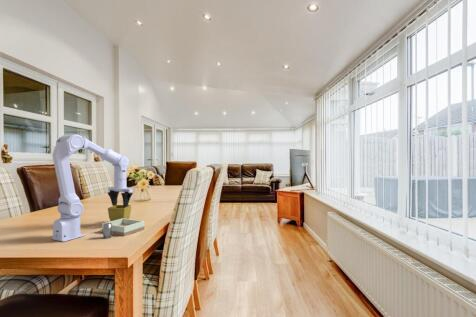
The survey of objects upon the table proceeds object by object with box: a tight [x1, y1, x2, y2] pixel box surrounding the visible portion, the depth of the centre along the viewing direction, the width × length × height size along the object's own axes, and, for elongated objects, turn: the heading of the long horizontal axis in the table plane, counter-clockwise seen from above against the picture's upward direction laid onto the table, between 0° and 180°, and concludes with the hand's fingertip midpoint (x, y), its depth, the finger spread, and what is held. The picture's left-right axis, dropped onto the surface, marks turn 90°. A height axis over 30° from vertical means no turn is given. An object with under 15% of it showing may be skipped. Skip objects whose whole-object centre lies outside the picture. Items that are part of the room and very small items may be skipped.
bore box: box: [101, 218, 145, 237], centre depth 123 cm, size 12×14×4 cm
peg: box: [102, 222, 113, 240], centre depth 113 cm, size 3×3×6 cm
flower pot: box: [107, 204, 132, 222], centre depth 136 cm, size 9×9×9 cm
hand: (120, 206), depth 133 cm, fingers open, 7 cm apart
